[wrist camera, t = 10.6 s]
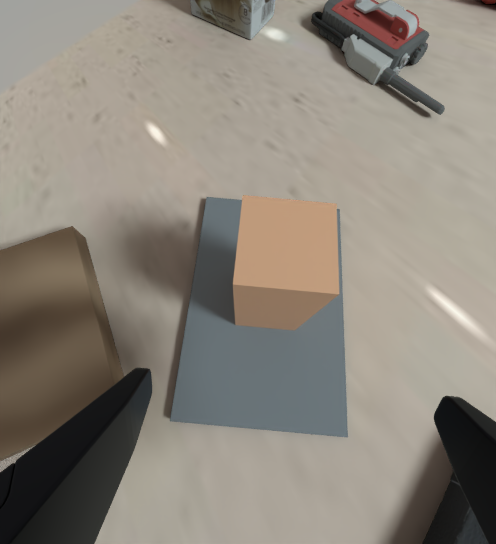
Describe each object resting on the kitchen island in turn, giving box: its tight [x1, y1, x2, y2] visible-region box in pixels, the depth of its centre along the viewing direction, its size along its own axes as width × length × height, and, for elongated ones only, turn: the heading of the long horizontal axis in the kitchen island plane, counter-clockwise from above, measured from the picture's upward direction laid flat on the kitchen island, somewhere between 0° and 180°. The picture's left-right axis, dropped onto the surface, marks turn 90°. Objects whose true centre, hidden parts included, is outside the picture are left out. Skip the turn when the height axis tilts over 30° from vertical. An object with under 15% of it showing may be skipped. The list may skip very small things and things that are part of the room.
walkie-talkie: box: [311, 0, 445, 115], centre depth 32 cm, size 9×4×20 cm
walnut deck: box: [0, 226, 124, 461], centre depth 20 cm, size 14×12×2 cm
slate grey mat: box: [170, 197, 348, 437], centre depth 22 cm, size 18×12×1 cm, turn 175°
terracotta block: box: [233, 195, 339, 331], centre depth 17 cm, size 4×4×10 cm
